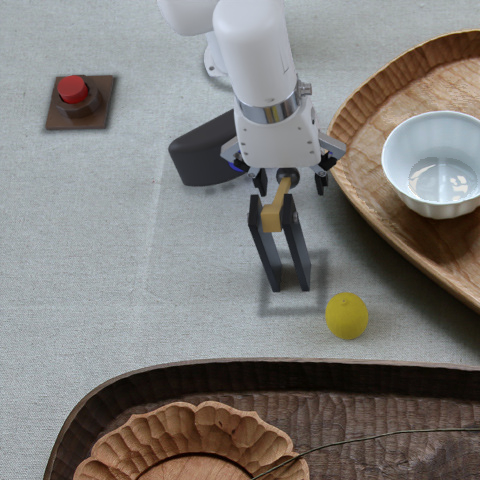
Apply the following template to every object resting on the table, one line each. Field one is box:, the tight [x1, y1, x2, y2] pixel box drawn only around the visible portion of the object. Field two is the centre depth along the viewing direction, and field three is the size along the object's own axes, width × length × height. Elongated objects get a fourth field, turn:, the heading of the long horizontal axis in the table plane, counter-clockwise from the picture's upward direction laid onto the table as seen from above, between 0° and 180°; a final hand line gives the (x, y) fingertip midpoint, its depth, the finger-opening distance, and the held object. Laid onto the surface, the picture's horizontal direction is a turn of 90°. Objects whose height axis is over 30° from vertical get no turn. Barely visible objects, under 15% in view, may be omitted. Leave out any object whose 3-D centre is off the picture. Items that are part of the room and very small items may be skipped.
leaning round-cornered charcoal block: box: [167, 107, 247, 188], centre depth 114 cm, size 16×5×9 cm, turn 123°
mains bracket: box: [246, 192, 312, 293], centre depth 103 cm, size 9×8×17 cm
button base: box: [44, 74, 115, 131], centre depth 124 cm, size 10×9×2 cm
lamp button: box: [58, 74, 88, 104], centre depth 122 cm, size 4×4×2 cm
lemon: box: [324, 291, 369, 341], centre depth 104 cm, size 6×6×8 cm
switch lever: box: [261, 167, 301, 233], centre depth 102 cm, size 16×3×3 cm, turn 179°
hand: (292, 187), depth 111 cm, fingers open, 7 cm apart
